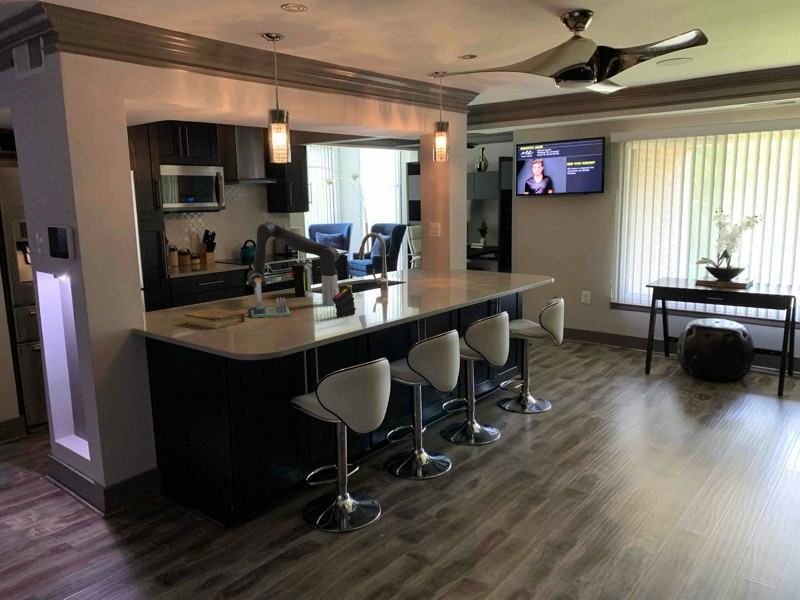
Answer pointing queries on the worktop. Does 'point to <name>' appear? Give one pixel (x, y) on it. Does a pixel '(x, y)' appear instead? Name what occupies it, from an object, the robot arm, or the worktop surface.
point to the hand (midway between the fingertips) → (257, 284)
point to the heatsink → (280, 309)
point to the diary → (214, 318)
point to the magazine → (344, 303)
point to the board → (271, 313)
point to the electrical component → (301, 278)
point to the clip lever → (259, 294)
